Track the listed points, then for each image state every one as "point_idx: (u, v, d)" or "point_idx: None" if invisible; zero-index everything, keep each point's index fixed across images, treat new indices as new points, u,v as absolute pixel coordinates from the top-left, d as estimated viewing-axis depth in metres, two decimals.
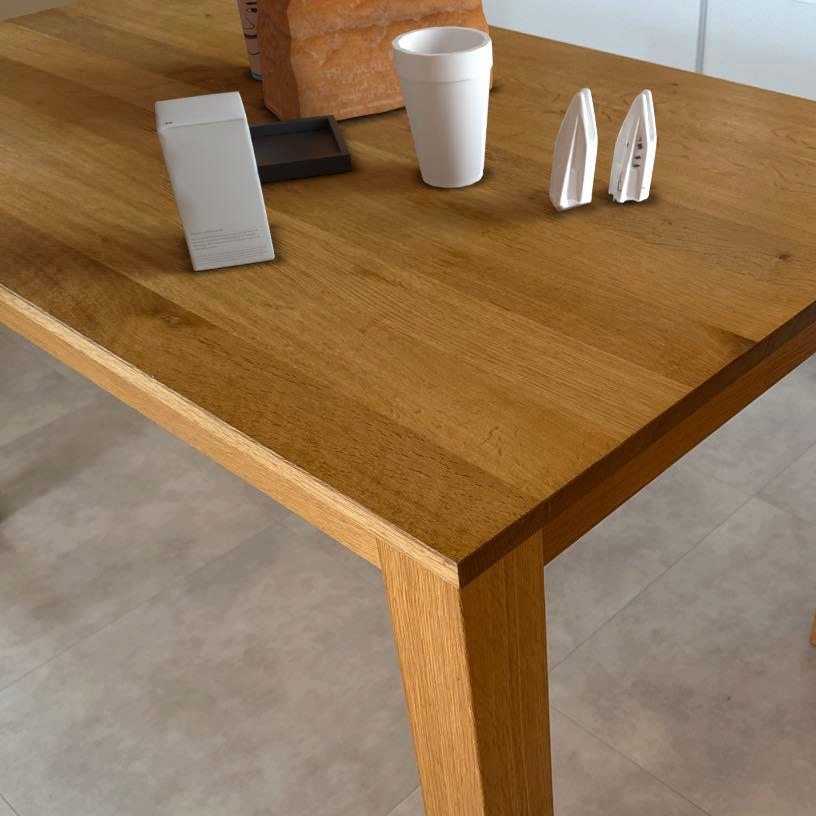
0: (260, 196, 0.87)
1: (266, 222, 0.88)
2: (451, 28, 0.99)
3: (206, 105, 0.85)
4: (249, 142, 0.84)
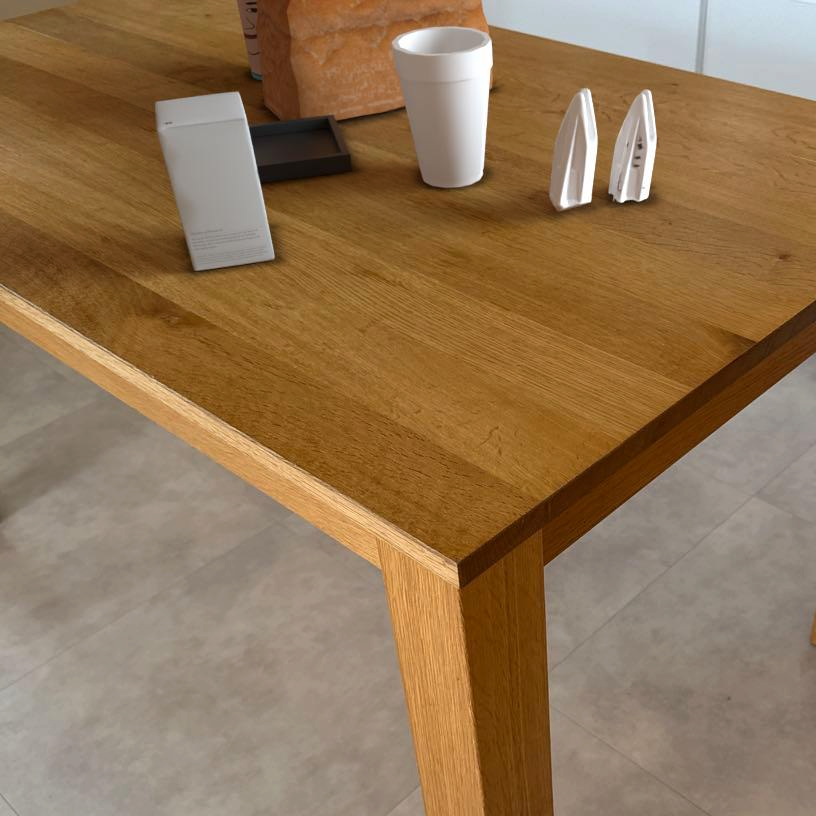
0: (260, 196, 0.87)
1: (266, 222, 0.88)
2: (451, 28, 0.99)
3: (206, 105, 0.85)
4: (249, 142, 0.84)
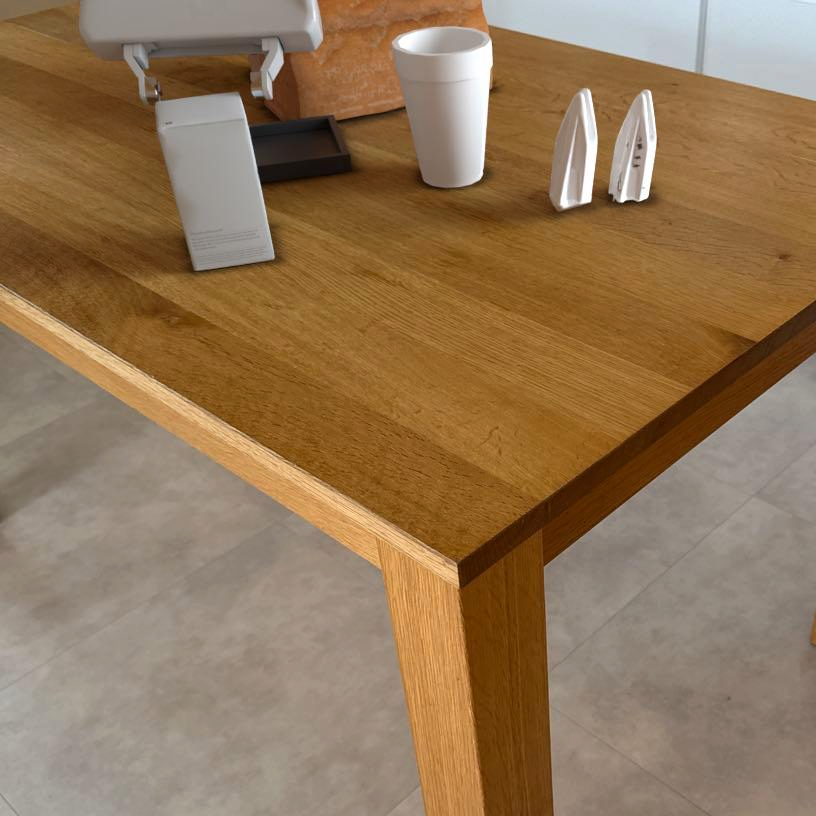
0: (260, 196, 0.87)
1: (266, 222, 0.88)
2: (451, 28, 0.99)
3: (206, 105, 0.85)
4: (249, 142, 0.84)
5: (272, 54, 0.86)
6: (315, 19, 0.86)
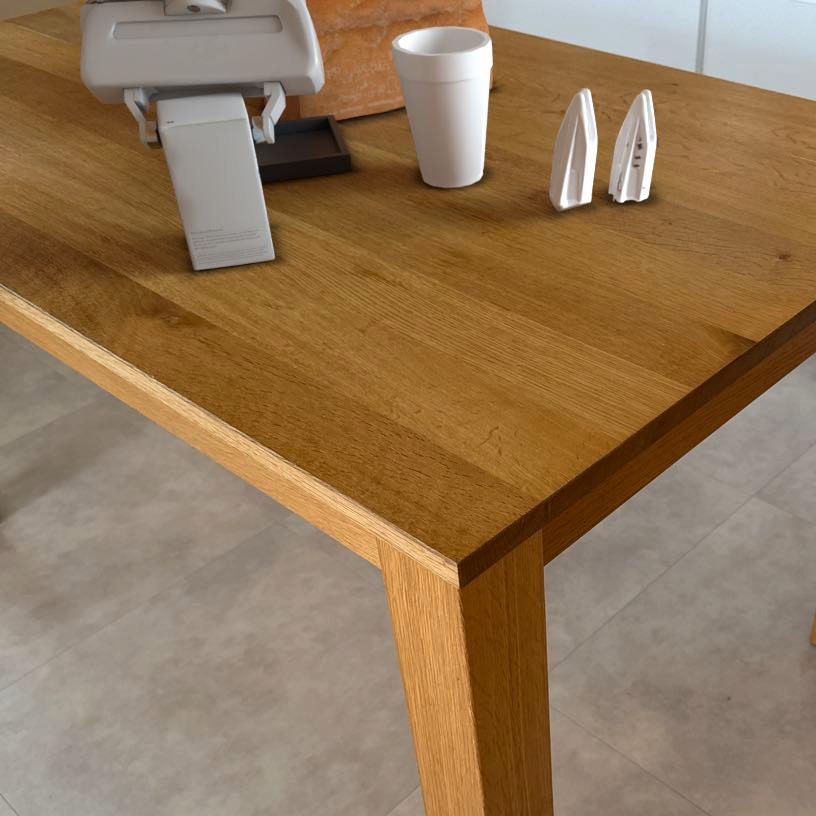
0: (261, 196, 0.87)
1: (267, 222, 0.88)
2: (451, 28, 0.99)
3: (208, 104, 0.85)
4: (251, 142, 0.84)
5: (274, 99, 0.86)
6: (317, 64, 0.86)
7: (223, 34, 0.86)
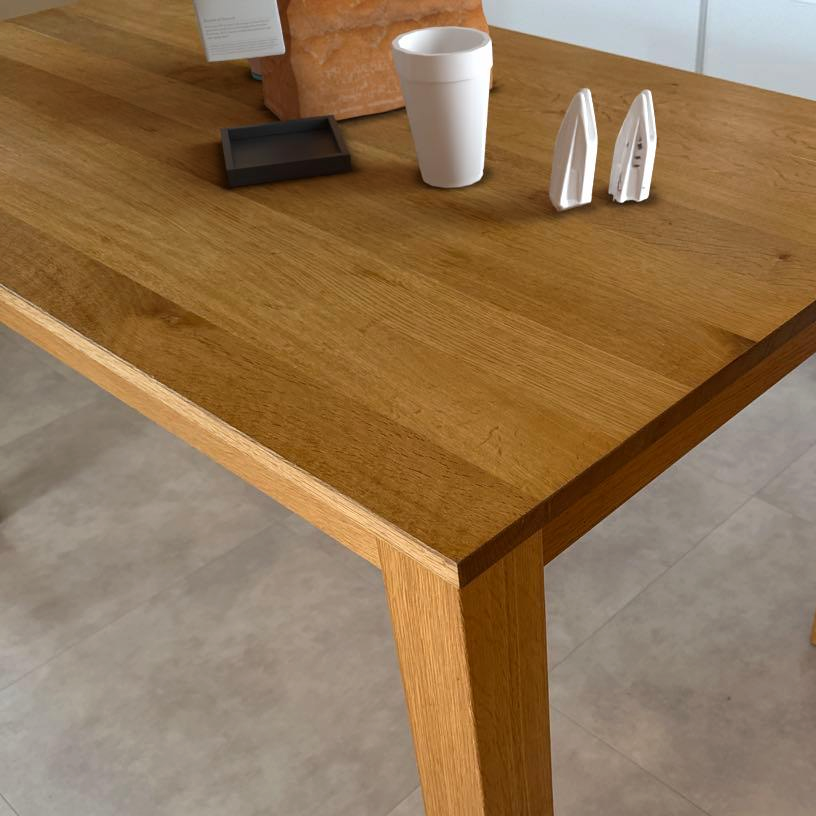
0: None
1: (277, 12, 0.91)
2: (451, 28, 0.99)
3: None
4: None
5: None
6: None
7: None
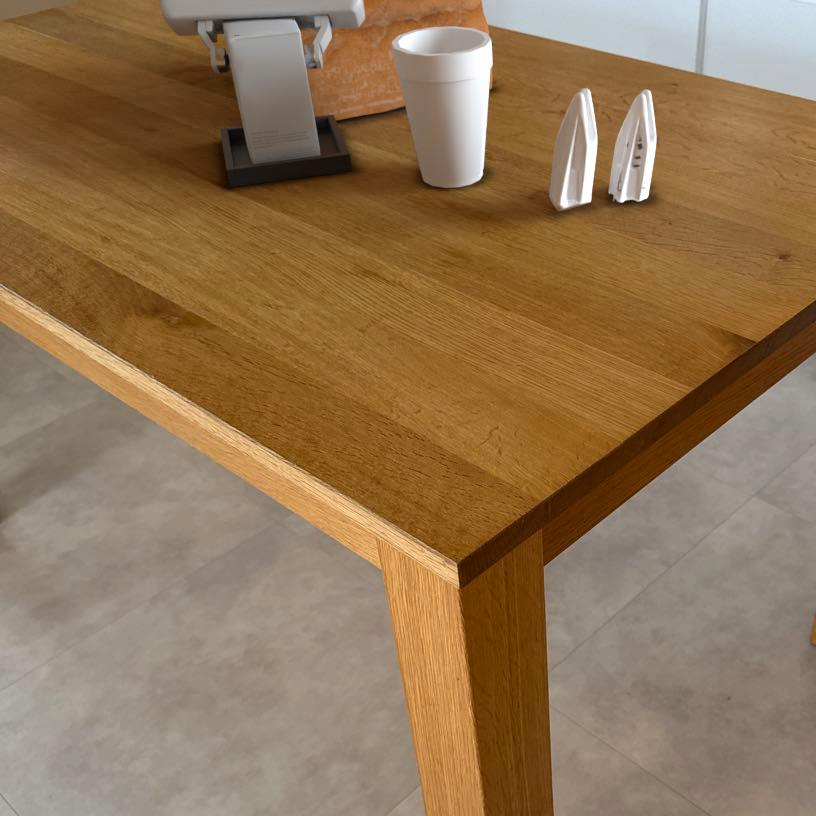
0: (310, 102, 1.03)
1: (314, 125, 1.04)
2: (451, 28, 0.99)
3: (266, 23, 1.01)
4: (302, 53, 1.00)
5: (323, 29, 1.02)
6: (360, 0, 1.02)
7: None
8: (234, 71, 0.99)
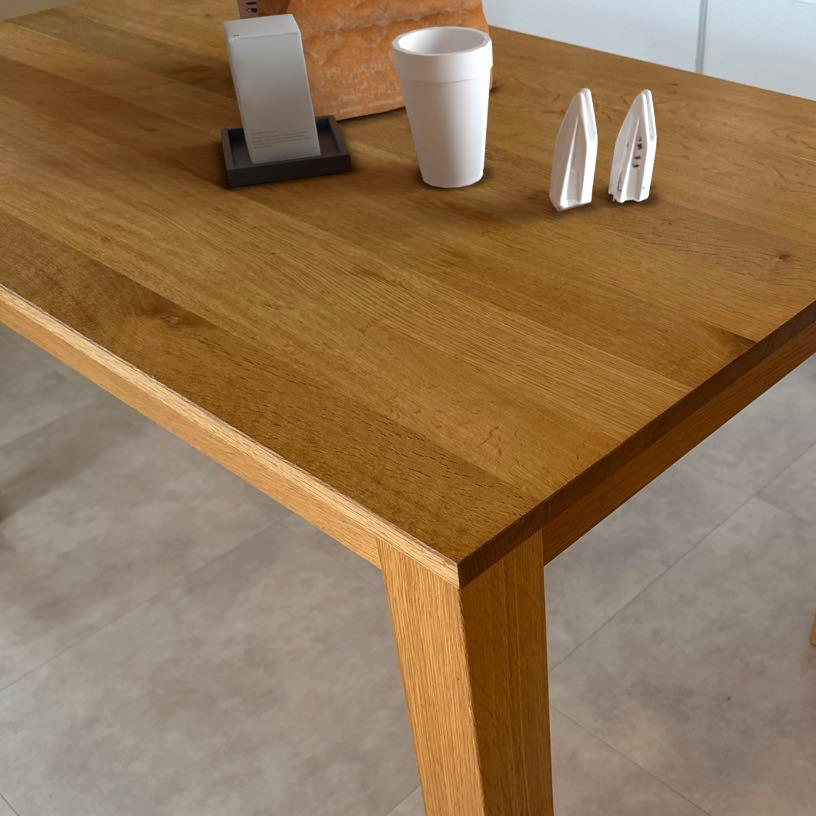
0: (310, 101, 1.03)
1: (314, 125, 1.04)
2: (451, 28, 0.99)
3: (266, 23, 1.01)
4: (302, 53, 1.00)
5: None
6: None
7: None
8: (234, 71, 0.99)
